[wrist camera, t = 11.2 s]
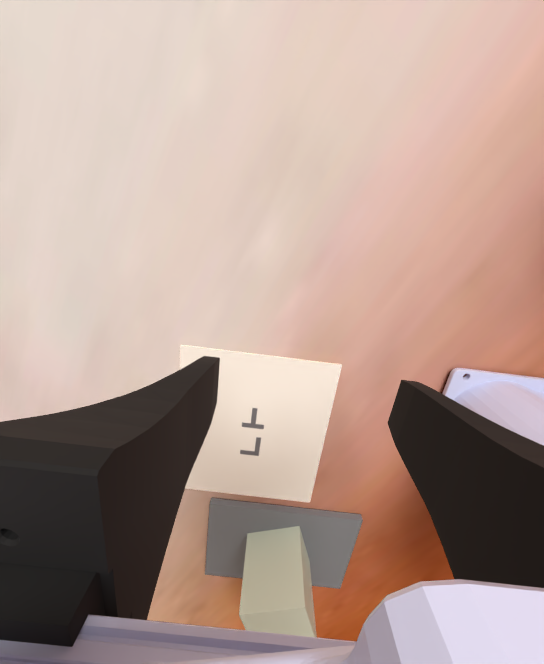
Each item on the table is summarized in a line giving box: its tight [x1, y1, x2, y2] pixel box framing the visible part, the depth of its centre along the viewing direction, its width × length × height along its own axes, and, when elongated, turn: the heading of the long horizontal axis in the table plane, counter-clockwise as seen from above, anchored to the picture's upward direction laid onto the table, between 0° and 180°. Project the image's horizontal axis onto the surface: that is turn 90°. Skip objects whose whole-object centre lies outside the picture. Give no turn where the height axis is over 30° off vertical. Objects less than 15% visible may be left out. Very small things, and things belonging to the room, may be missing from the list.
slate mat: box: [205, 498, 363, 589], centre depth 28 cm, size 14×10×1 cm
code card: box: [180, 345, 342, 503], centre depth 23 cm, size 12×14×1 cm
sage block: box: [239, 526, 317, 637], centre depth 24 cm, size 5×5×6 cm
